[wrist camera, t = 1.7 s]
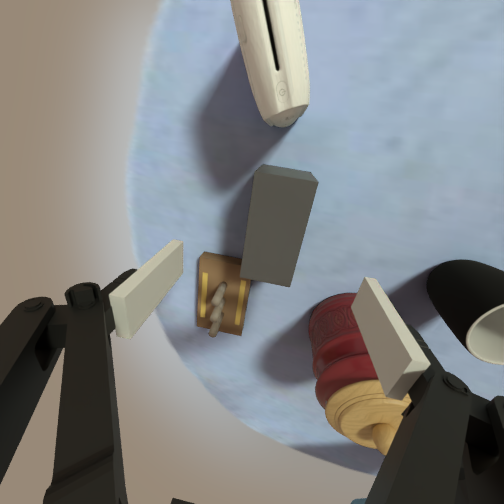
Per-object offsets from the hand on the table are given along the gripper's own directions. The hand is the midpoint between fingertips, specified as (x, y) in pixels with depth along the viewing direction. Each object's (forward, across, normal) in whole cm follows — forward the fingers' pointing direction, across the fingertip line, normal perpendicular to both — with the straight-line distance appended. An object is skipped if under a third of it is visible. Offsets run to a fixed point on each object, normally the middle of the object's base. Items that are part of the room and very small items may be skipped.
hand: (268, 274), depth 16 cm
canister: (+16, -15, +16) cm, 27 cm away
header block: (+16, +6, +15) cm, 23 cm away
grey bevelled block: (+16, 0, 0) cm, 16 cm away
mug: (+16, -27, +4) cm, 32 cm away
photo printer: (+16, +3, -15) cm, 22 cm away
